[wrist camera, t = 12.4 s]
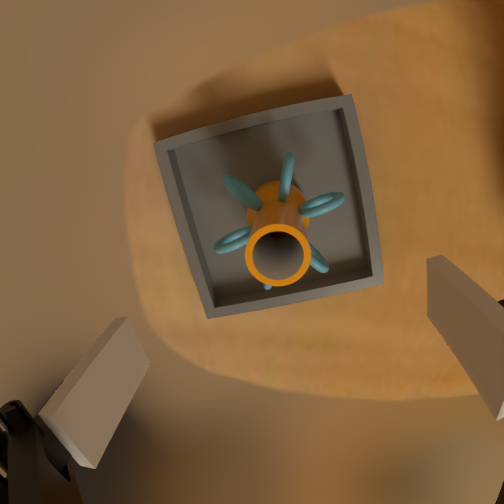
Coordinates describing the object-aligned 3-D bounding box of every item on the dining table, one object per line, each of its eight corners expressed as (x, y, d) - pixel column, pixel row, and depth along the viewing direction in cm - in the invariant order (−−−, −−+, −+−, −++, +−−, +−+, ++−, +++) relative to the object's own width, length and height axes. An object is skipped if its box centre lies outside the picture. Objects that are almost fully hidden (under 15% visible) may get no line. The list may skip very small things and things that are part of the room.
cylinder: (236, 142, 32) (203, 141, 18) (336, 159, 32) (381, 172, 17) (222, 254, 36) (186, 325, 22) (314, 269, 36) (334, 348, 21)
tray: (345, 98, 30) (351, 93, 27) (376, 273, 36) (384, 283, 33) (163, 142, 33) (153, 143, 30) (212, 306, 39) (207, 318, 36)
